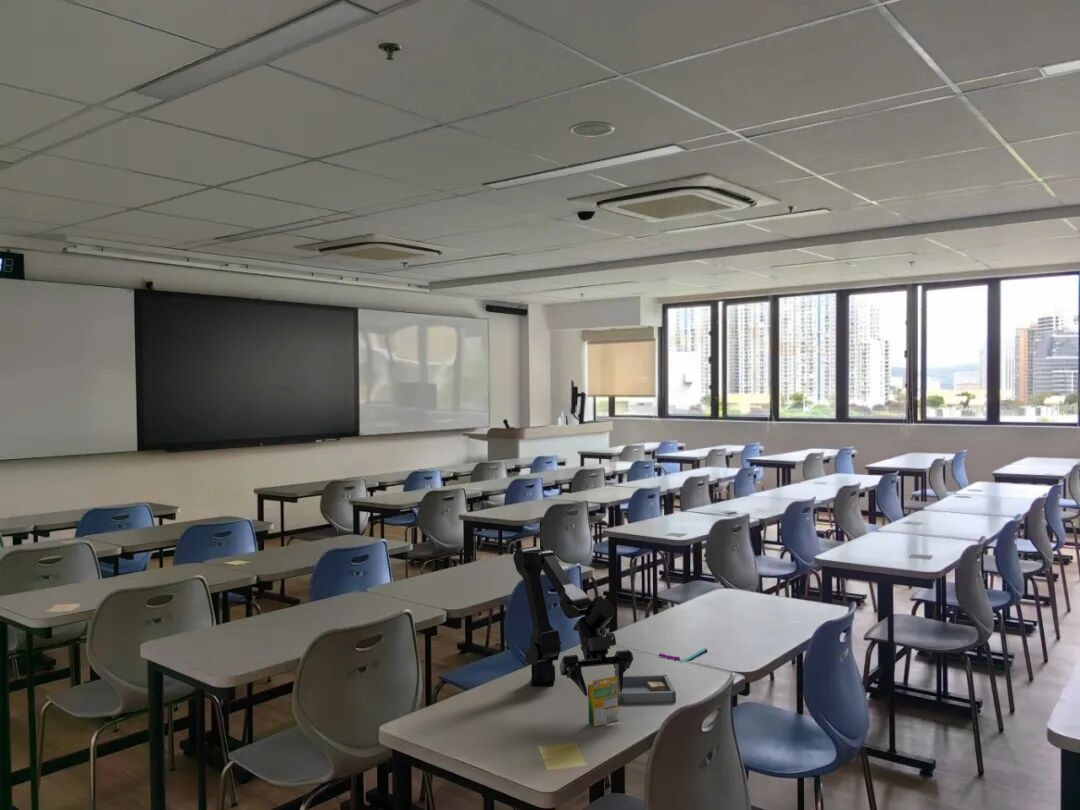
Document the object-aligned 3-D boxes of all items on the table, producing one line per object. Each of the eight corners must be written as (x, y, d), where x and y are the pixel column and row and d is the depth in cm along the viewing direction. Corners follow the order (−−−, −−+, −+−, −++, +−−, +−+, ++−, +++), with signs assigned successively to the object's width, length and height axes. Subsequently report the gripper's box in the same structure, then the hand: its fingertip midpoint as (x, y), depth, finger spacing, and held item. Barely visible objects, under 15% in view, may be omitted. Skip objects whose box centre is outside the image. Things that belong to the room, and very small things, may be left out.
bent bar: (680, 642, 264) (707, 647, 257) (680, 647, 264) (707, 653, 257) (633, 667, 241) (661, 673, 235) (633, 673, 241) (661, 679, 235)
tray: (620, 705, 213) (619, 693, 213) (614, 686, 227) (614, 675, 227) (675, 703, 213) (675, 692, 213) (666, 685, 227) (666, 674, 227)
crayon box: (612, 717, 204) (612, 672, 205) (618, 721, 202) (618, 676, 202) (588, 722, 201) (587, 677, 201) (593, 727, 199) (592, 680, 199)
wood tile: (652, 691, 221) (652, 686, 221) (647, 686, 225) (647, 682, 225) (665, 689, 222) (665, 685, 222) (660, 685, 226) (660, 680, 226)
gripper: (561, 625, 204) (573, 682, 193) (630, 619, 208) (646, 674, 198) (554, 646, 212) (566, 703, 201) (621, 640, 216) (635, 695, 205)
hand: (603, 693), depth 201 cm, fingers open, 9 cm apart
